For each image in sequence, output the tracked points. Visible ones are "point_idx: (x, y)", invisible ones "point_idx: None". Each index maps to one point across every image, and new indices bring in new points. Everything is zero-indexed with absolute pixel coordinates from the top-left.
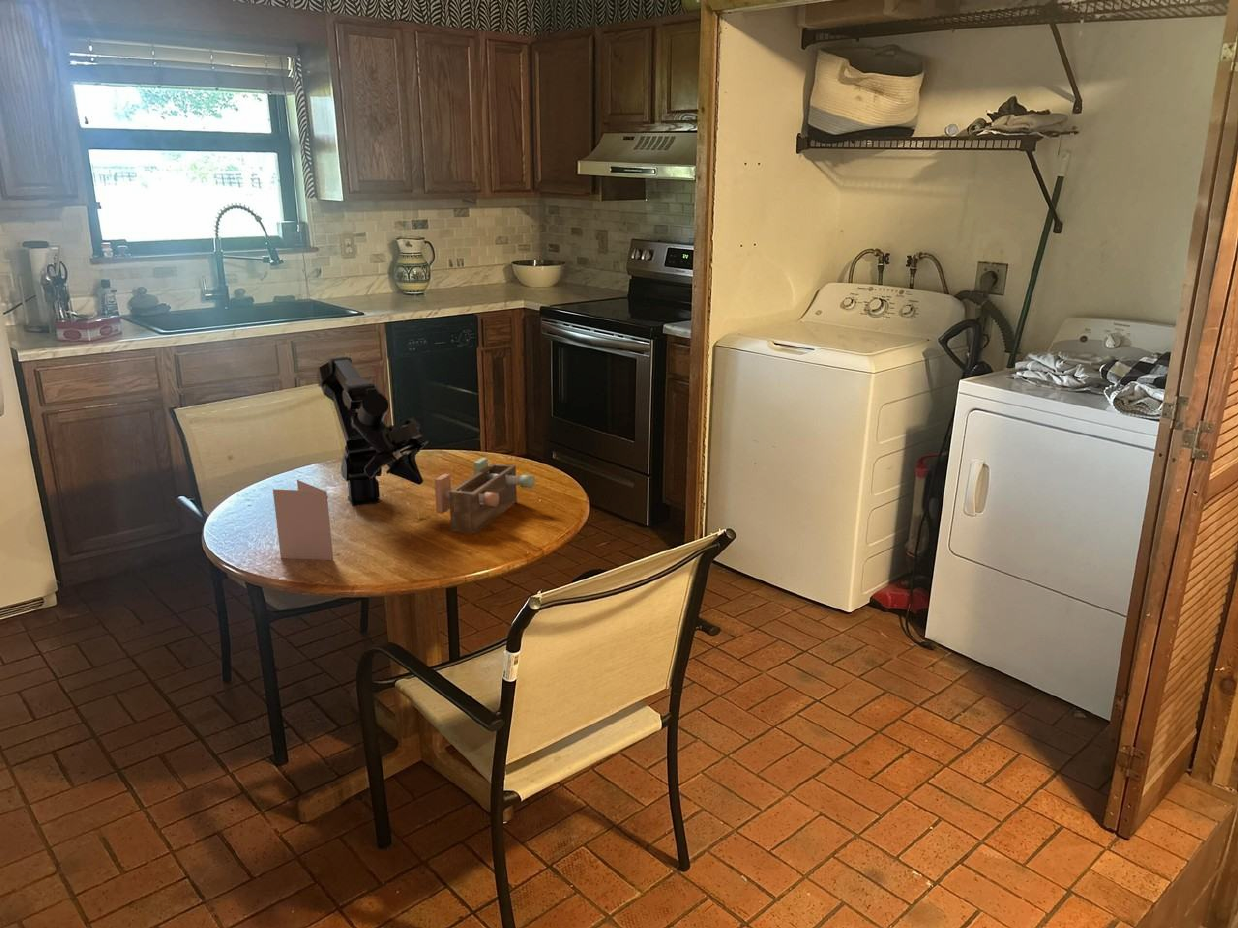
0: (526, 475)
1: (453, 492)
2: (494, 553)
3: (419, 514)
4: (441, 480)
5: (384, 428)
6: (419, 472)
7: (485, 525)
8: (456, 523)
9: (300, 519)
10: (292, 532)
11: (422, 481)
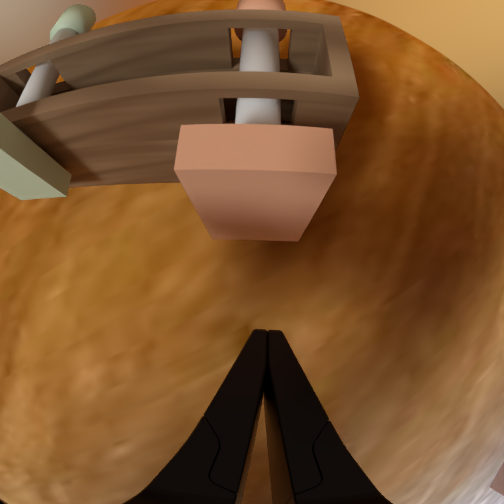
0: (66, 14)
1: (355, 79)
2: (395, 55)
3: (204, 373)
4: (317, 131)
5: None
6: (229, 381)
7: None
8: None
9: None
10: None
11: (266, 330)
